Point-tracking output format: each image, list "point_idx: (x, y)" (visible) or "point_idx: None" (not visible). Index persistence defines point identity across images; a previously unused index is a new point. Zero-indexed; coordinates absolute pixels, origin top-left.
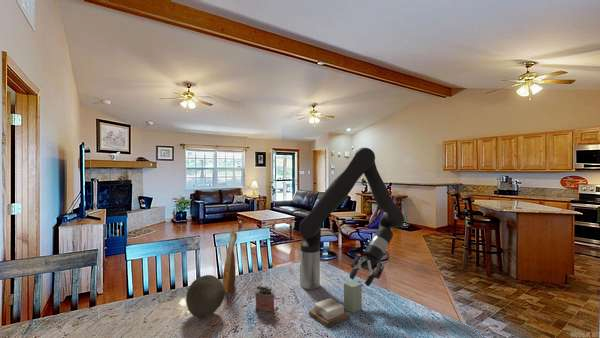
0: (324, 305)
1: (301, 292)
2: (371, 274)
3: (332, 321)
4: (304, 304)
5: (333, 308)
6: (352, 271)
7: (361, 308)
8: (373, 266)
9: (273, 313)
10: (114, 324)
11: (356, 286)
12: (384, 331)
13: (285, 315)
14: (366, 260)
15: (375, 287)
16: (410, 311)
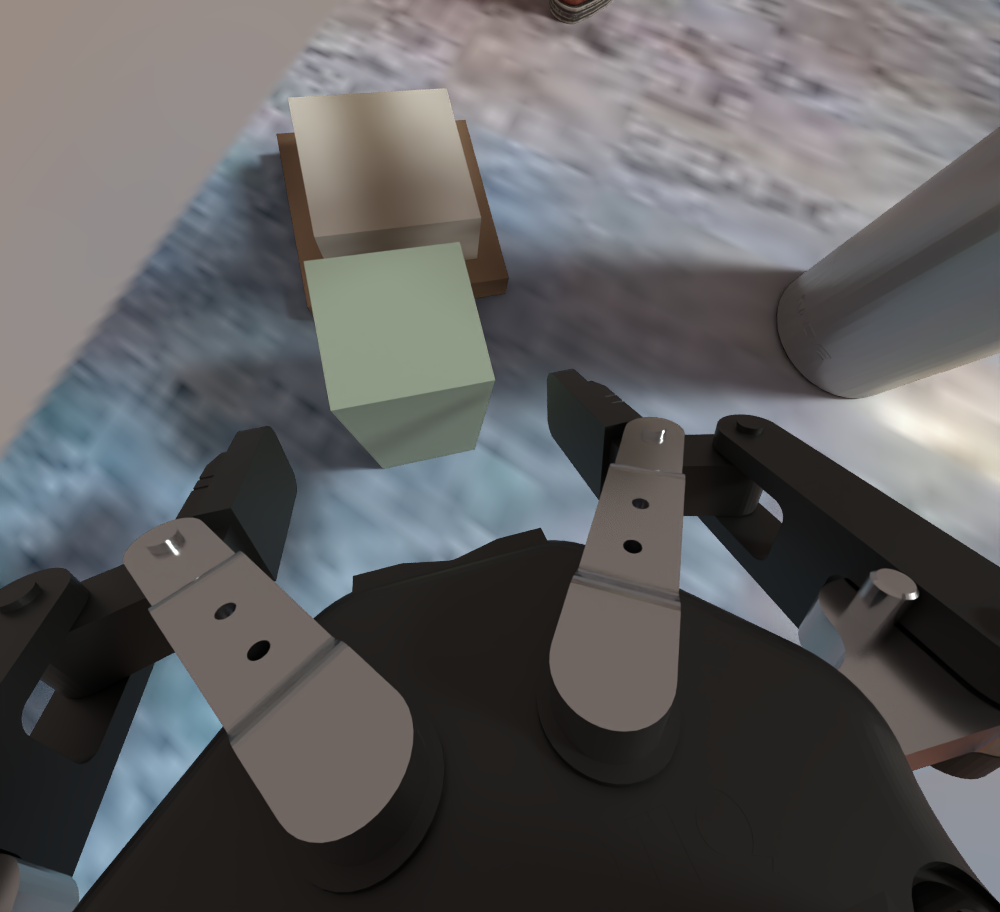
0: (386, 127)
1: (752, 237)
2: (151, 539)
3: (283, 170)
4: (591, 180)
5: (312, 152)
6: (603, 401)
7: (382, 466)
8: (194, 771)
9: (552, 12)
10: None
11: (315, 323)
12: (39, 425)
13: (510, 48)
14: (569, 753)
15: None
16: None
